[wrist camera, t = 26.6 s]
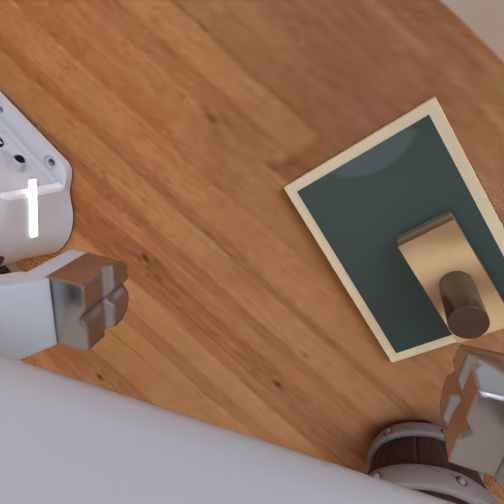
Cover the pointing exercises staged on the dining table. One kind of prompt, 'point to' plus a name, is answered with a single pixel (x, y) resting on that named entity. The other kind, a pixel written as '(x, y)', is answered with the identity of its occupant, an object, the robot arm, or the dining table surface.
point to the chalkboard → (397, 221)
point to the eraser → (453, 277)
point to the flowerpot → (424, 464)
